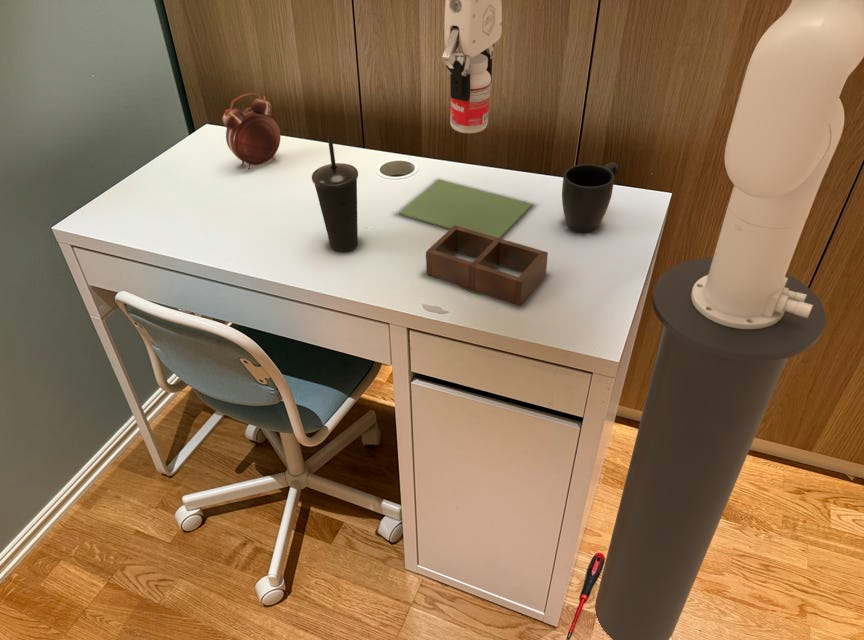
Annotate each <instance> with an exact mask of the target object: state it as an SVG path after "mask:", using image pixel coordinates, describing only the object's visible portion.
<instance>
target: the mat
mask: <svg viewBox="0 0 864 640" xmlns="http://www.w3.org/2000/svg"><path fill="white" fill-rule="evenodd" d="M532 207H533V204H532V203H529V202H526V201H523V200H518V199H515V198H511V197H507V196H504V195H499V194H495V193H492V192H487V191H484V190H480V189H476V188H472V187H469V186H464V185H461V184H457V183H453V182H449V181H445V180H442V179H437V180H436V181H435V182H434V183H433V184H432V185H430V187H428V188H427V189H426V190H425V191H423V192H422V193H421V194H420V195H419V196H418V197H416V198H415V199H414V200H412V201H411V202H410V203H409V204H408V205H406V206H405V207H404V208H403V209H402V210H400V212H398V214H399V215H400V216H403V217H406V218H410V219H413V220H416V221H420V222H424V223H427V224H430V225H433V226H435V227H436V226H437V227H440V228H443V229H447V230H450V229H451V228H452V227H453V226H454V225H456V226H459V227H463V228H466V229H470V230H473V231H476V232H480V233H483V234H487V235H490V236H494V237H497V238H500V239H502V237H503V236H504V235H505V234H506V233H507V232H509V230H510V229H511V228H512V227H513V226H514V225H515V224H516V223H517V222H518V221H519V220H520V219H521V218H522V217H523V215H525V214H526V212H528V211H529V210H530V209H531V208H532Z"/></svg>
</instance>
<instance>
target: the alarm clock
mask: <svg viewBox="0 0 864 640" xmlns="http://www.w3.org/2000/svg"><path fill="white" fill-rule="evenodd" d="M252 95H253V96H256V97H257V98H255V99H253V100H252V102H251V103H250V105H249V106H245V107H244V108H243V109H242V110H240V109H238V108H236V107H234V103H235V102H237V101H238V100H239V99H242V98H244V97H247V96H252ZM230 102H231V103H230V106H229V108H228V109H224V111H223V112H224V113H223V115H222V123H223V125H224V127H225V128H226V131H225V139H226V144H227V146H228V148H229V150H230V152H232V154H233V155H234V156H235V158H237V159H238V160H240V161H241V164H240V166H241V167H245V166H244V165H245V164H247V165H248V167H247V170H251V166H259V165H263V164H265V163H267V162H269V161H270V160H271V159H272V161H276V158H275V157H274V156H276V153H277V152H278V150H279V148H280V144H281V131H280V128H279V125H278V124H277V121H275V120H274V119H273V118H272V117H271V115H272V112H273V107H272V105H271V103H270V102H269V100H267V99H266V95H262V97H261V95H260V94H259V93H257V92H254V91H253V92H245V93H243V94H239V95H238V96H237V97H235V98H234V99H232V100H231V101H230Z"/></svg>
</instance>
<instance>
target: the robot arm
mask: <svg viewBox="0 0 864 640" xmlns="http://www.w3.org/2000/svg"><path fill="white" fill-rule="evenodd" d="M444 2H445V3H444V23H443V24H444V33H443V34H444V36H443V37H444V50H443V53H442V56H441V59H442V62H443V63H444V65H446V68H447V71H448V74H449V75H450V79H449V80H450V99H451V98H452V99H457V100H462V101H468V100H470V74H468V69H469V63H470V58H471V57H475V56H477V55H478V54H483V55H485V56H486V57H487V58H488V67H487V69H486V70H487V71H488V72H489V74H490V76H491V84H493V83H492V82H493V58H494V56H495V50H494V46H495V44H496V43H497V42H498V41H499V40H500V39H501V37H502V33H503V32H502V29H503V5H502V2H503V1H502V0H445V1H444ZM460 49H462V51H461V52H460V51H459V50H460ZM458 57H464V59H463V64H462V65H461V63H460V62H459V61H457V59H458ZM863 58H864V0H791V2H790V4H789V6H788V8H787V9H786V10H785V12H784V13H783V14H782V15H781V16H780V17H779V18H778V19H777V20H776V21H774V22H773V23H772V24H771V25H770V26H769V27H768V28H767V30H766V31H765V32H764V33H763V34H762V36H761V37H760V39H759V40H758V42H757V44H756V46H755V48H754V49H753V52H752V54H751V57H750V59H749V61H748V64H747V68H746V70H745V74H744V77H743V81H742V85H741V87H740V93H739V96H738V98H737V99H738V100H737V103H736V107H735V111H734V114H733V116H732V122H731V125H730V128H729V131H728V135H727V140H726V143H725V149H724V167H725V170H726V174H727V176H728V178H729V180H730V181H731V183H732V184H733V188H732V191H731V194H730V197H729V202H728V203H727V208H726V210H725V211H726V212H725V215H724V219H723V221H722V225H721V229H720V232H719V236H718V240H717V242H716V245H715V246H716V247H715V251H714V253H713V256H712V257H713V260H712V264H711V267H710V271H709V274H708V275H707V276H704V277H702V278H701V279H699V280H698V281H697V282H696V283H695V284H694V286H693V289H692V293H691V300H692V302H693V305H694V306H695V308H696V309H697V310H698V311H699V312H700V313H701V314H702V315H704V316H705V317H707V318H708V319H710V320H712V321H714V322H716V323H718V324H721V325H724V326H728V327H732V328H737V329H761V328H765V327H769V326H771V325H773V324H775V323H777V322H778V321H779V320H780V319H781V318H782V317H783V315H784V312H785V311H786V312H789V313H793V314H794V315H798V316H801V317H805V318H808V316H809V314H810V311H811V309H812V306H813V305H811V304H807V303H804V300H805V298H806V294H802V293H798V292H793V291H789V288H786V287H785V285H786V282H787V279H788V278H787V277H785V275H786V273H787V272H788V270H789V267H790V265H791V262H792V259H793V256H794V254H795V251H796V249H797V245H798V243H799V240H800V238H801V235H802V232H803V230H804V227H805V224H806V221H807V220H808V217H809V215H810V212H811V209H812V208H813V207H812V206H813V204H814V201H815V198H816V197H817V193H818V192H819V189H820V187H821V183H822V182H823V179H824V176H825V175H826V172H827V170H828V168H829V165H830V163H831V161H832V158H833V156H834V154H835V153H836V150H837V147H838V145H839V143H840V140H841V137H842V134H843V130H844V126H845V109H844V105H843V102H842V100H841V98H840V96H841V93H842V90H843V88H844V86H845V83H846V82H847V80H848V77H849V76H850V75H851V74H852V73H853V71H854V70H855V69H856V68H857V67H858V66H859V64H860V63H861V62H862V60H863Z"/></svg>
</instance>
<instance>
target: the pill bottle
mask: <svg viewBox="0 0 864 640" xmlns="http://www.w3.org/2000/svg"><path fill="white" fill-rule="evenodd" d="M463 59H464V57H457V61H459V62H460V63H461V65H462V64H463ZM487 67H488V58H487V57H486V56H485V55H483V54H478V55H477V56H475V57H471V58H470V63H469V69H468V74H470V100H468V101H462V100H457V99H452V98H451V97H450V113H449V114H450V115H449V116H450V117H449V124H450V126H451V128H452V129H453V130H455V131H456V132H457V133H461V134H476V133H480V132H483V131H484V130H485V129H486V128H487V127H488V124H489V112H490V98H491V88H492V87H491V86H492V83H491V76H490V74H489V72H488V71H487V70H486V69H487Z"/></svg>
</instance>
